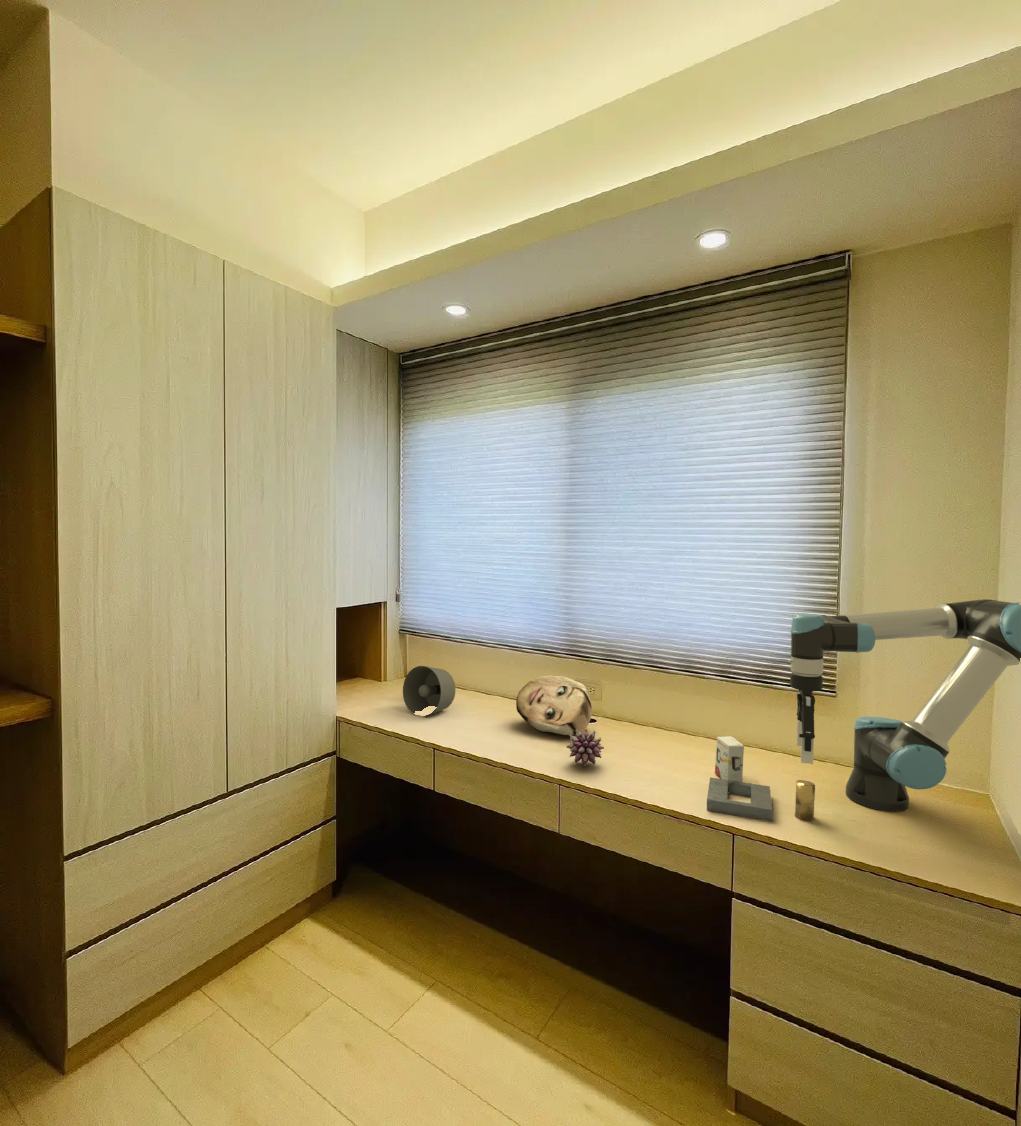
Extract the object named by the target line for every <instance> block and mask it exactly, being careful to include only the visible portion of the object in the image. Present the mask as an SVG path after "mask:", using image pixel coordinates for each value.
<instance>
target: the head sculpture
mask: <svg viewBox="0 0 1021 1126" xmlns="http://www.w3.org/2000/svg"><path fill="white" fill-rule="evenodd" d="M515 701H516V703H515V704H516V705H515V706H516V707H515V708H516V711H517V713H518V715H519V716H520V717H521V718H522V719H523V721H525V722H526V724H528V725H530V726H531V727H532V728H534V729H536V730H538V731H539V732H542V733H548V732H549V733H553V734H556V735H559V736H560V735H561V736H570V735H571V736H576V731H575V730H578V731H579V732H581V733H582V734H583V732H584V730H585V728H587V729H588V726H589V725H590V721H591V719H592V715H593V712H592V711H593V709H592V701H591V696H590V694H589V690H588V689H587V687H586V686H585V685H584V684H583V683H581V682H578V681H577V680H576V681H575V680H574V679H572V678H569V677H566V676H564V675H563V676H562V675H559V676H553V675H550V674H549V675H545V676H544V675H541V676H539V677H536V678H534V679H532V680H530V681H528V682H527V683H526V684H525V685H524V686H523V687H522V688H521V689H520V690H519V691H518V694H517V696H516V700H515Z"/></svg>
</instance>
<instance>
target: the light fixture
mask: <svg viewBox="0 0 1021 1126" xmlns="http://www.w3.org/2000/svg"><path fill="white" fill-rule="evenodd" d="M455 697H456V683H455V680H454V678H453V676H452V675H451V674H450V673H449V672H448V670H446V669H443V668H437V667H431V666H425V665H418V666H415V667H414V668H412V669H411V670H410V671H409V672H407V674H406V677H405V678H404V680H403V684H402V698H403V701H404V703H405V704H404V705H405V706H406V708H407V710H409V712H410V713H412V714H413V713H415V711H422V710H423V709H424V708H426V707H428V706H435V707H437V708H436V709H435V710H434V711H433V712H432V713H431V714H430V715H427V716H425V717H428V716H431V715H434V714H436V713H439V712H441V711H443V710H446V709H448V708H449V707H450V706H451V705H452V704H453V703H454V702H453V701H455V700H454V699H455ZM425 717H424V718H425Z"/></svg>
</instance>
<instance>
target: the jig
mask: <svg viewBox="0 0 1021 1126" xmlns="http://www.w3.org/2000/svg"><path fill="white" fill-rule="evenodd" d="M708 783H709V784H708V788H707V789H708V791H707V797H706V811H708V812H713V813H714V812H715V813H720V814H727V815H733V816H737V817H744V818H749V819H754V820H761V821H767V822H773V805H772V804H773V803H772V796H771V795H772V794H771V787H770V786H769V785H764V784H763V785H762V784H756V783H750V782H743V781H742V782H737V781H731V780H724V779H721V778H717V777H716V778H715V777H709V782H708ZM728 794H730V795H731V794H732V795H737V796H743V797H750V799H749V800H750V803H749V802H745V801H738V800H731V799H728V798H729V795H728Z"/></svg>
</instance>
